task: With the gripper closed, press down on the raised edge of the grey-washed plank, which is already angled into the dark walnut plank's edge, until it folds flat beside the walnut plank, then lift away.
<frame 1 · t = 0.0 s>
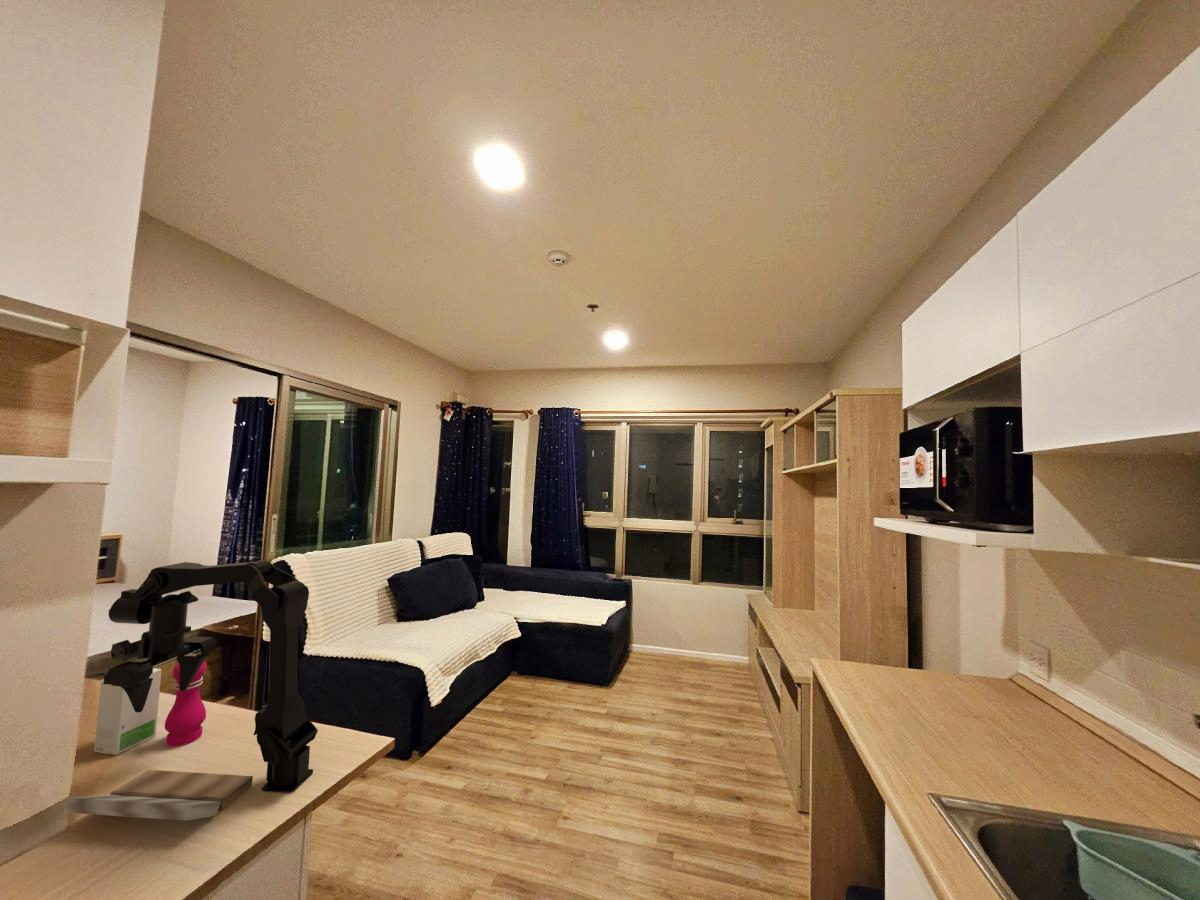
hand: (161, 700, 96), 15 cm above the counter, fingers open, 9 cm apart
pepper mill: (184, 739, 107), on the counter
grey plank: (145, 806, 82), point 3 cm above the counter, hinge at 30.0°
walnut plank: (182, 795, 89), on the counter
skincare box: (125, 744, 104), on the counter
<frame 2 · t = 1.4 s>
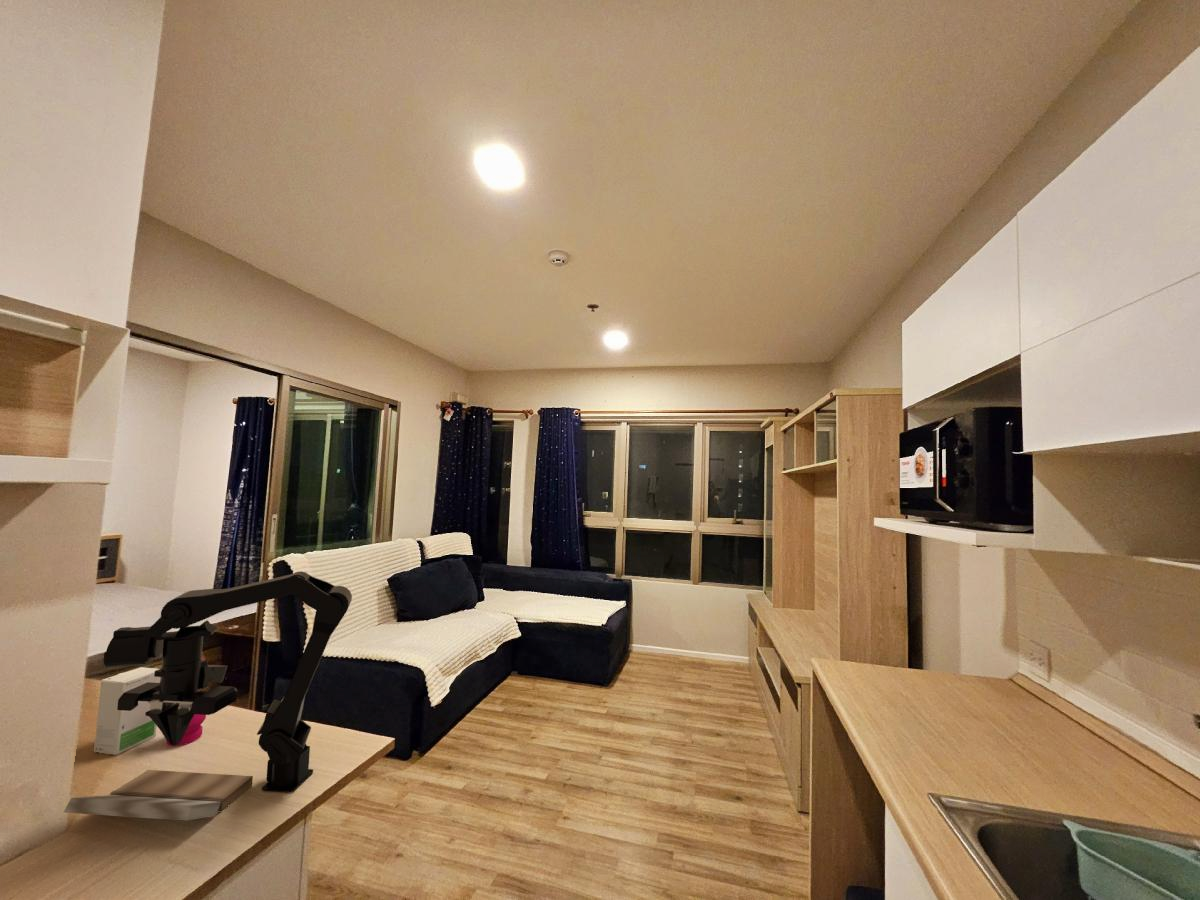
hand: (175, 744, 87), 11 cm above the counter, fingers closed
nothing on the counter moved.
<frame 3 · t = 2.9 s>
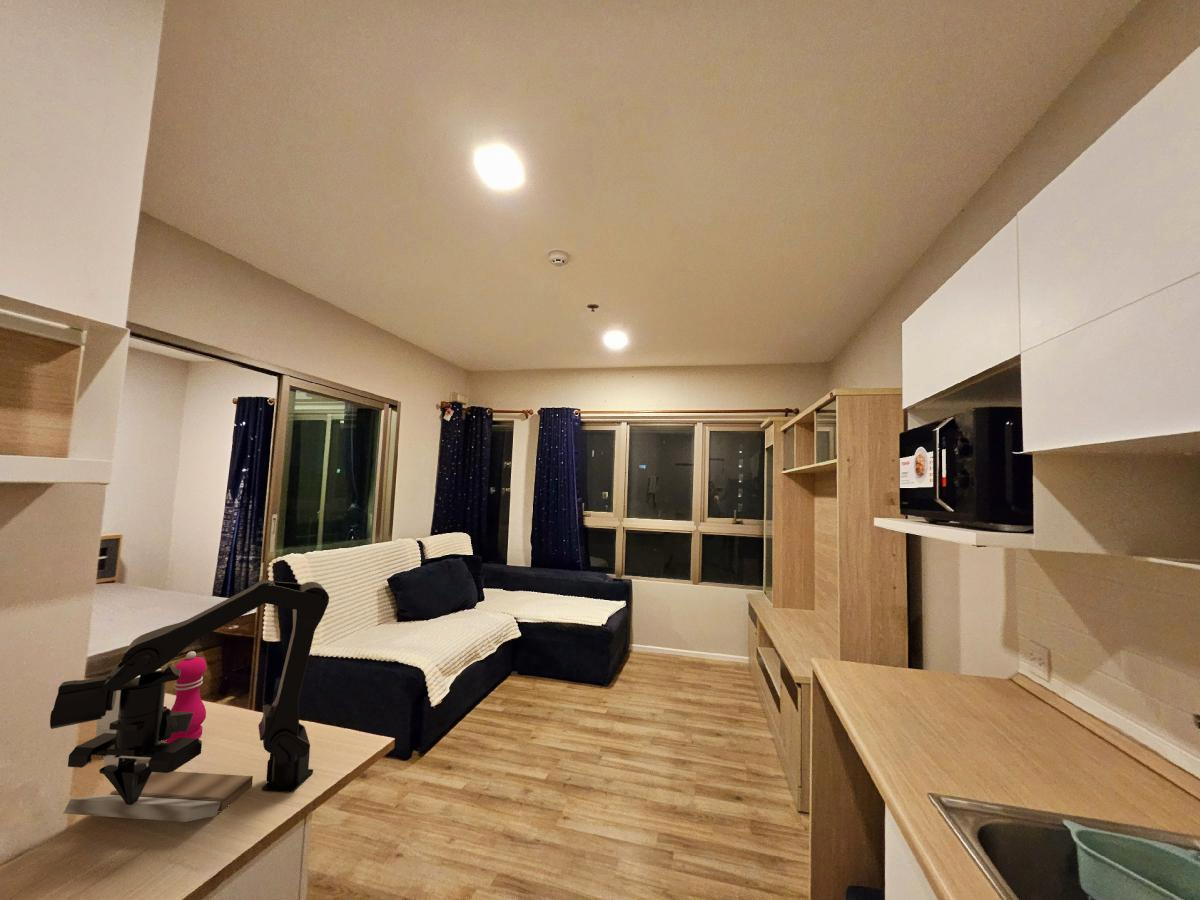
hand: (131, 803, 79), 5 cm above the counter, fingers closed, pressing on grey plank
grey plank: (145, 807, 82), point 3 cm above the counter, hinge at 28.6°, touching gripper
everything else where it was.
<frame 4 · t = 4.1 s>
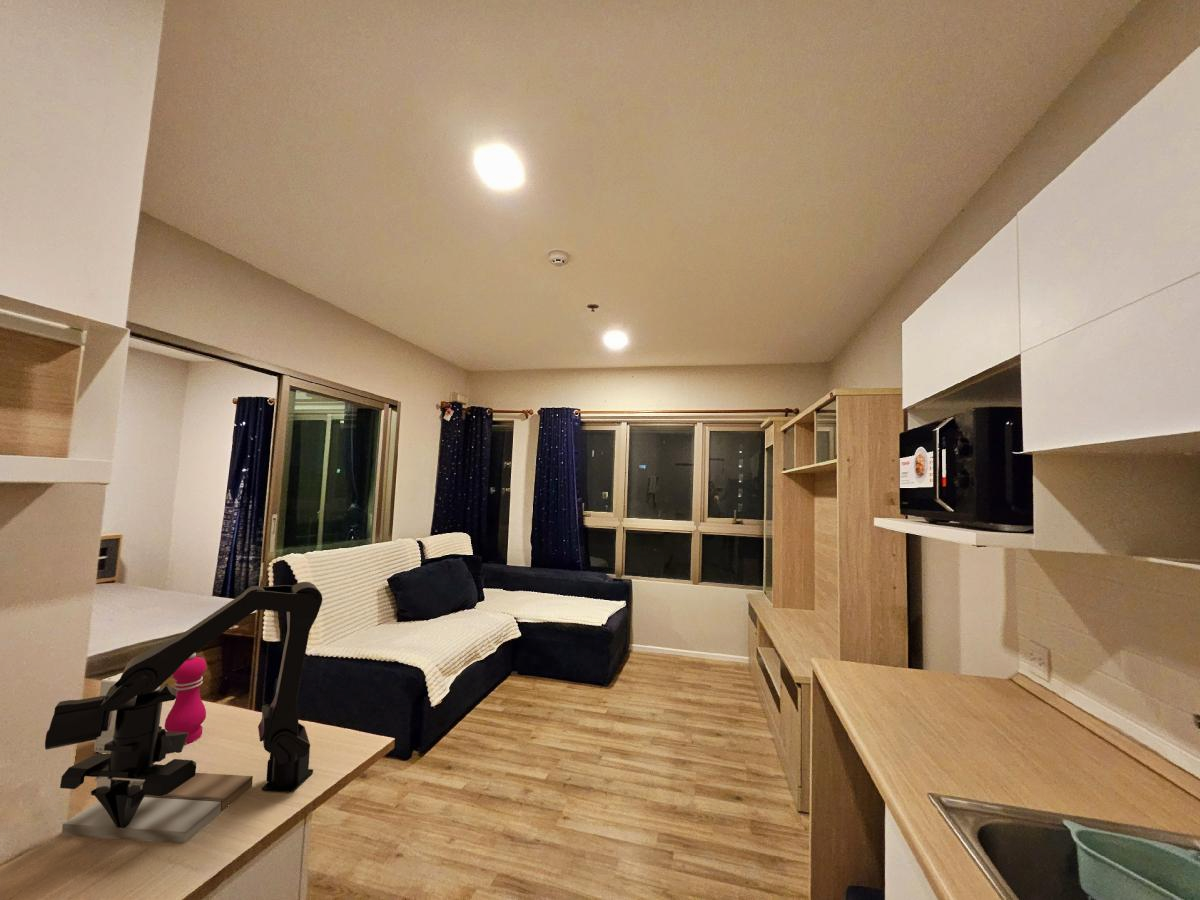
hand: (123, 826, 78), 2 cm above the counter, fingers closed, pressing on grey plank
grey plank: (144, 818, 82), point 1 cm above the counter, hinge at -1.2°, touching gripper
everything else where it was.
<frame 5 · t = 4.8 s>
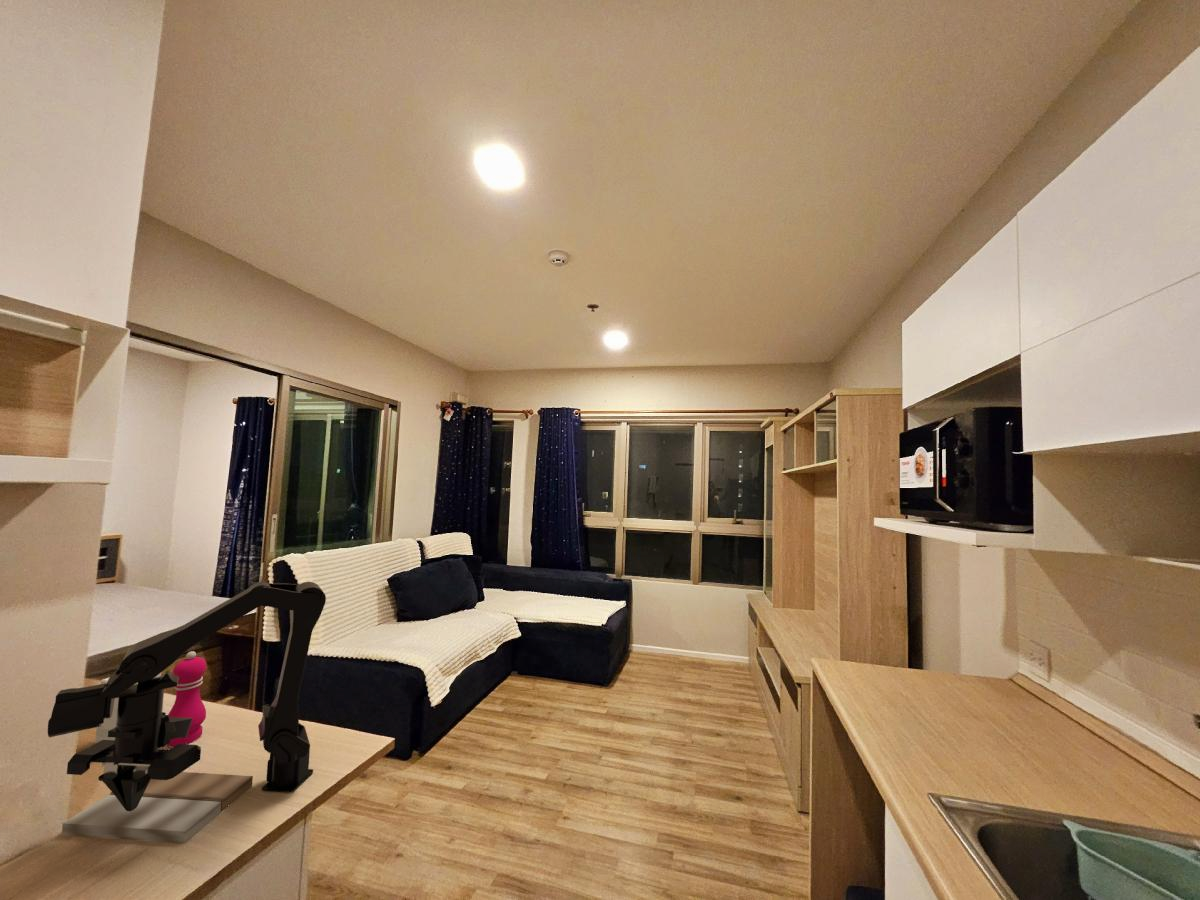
hand: (131, 809, 79), 4 cm above the counter, fingers closed
grey plank: (144, 818, 82), point 1 cm above the counter, hinge at -0.6°
everything else where it was.
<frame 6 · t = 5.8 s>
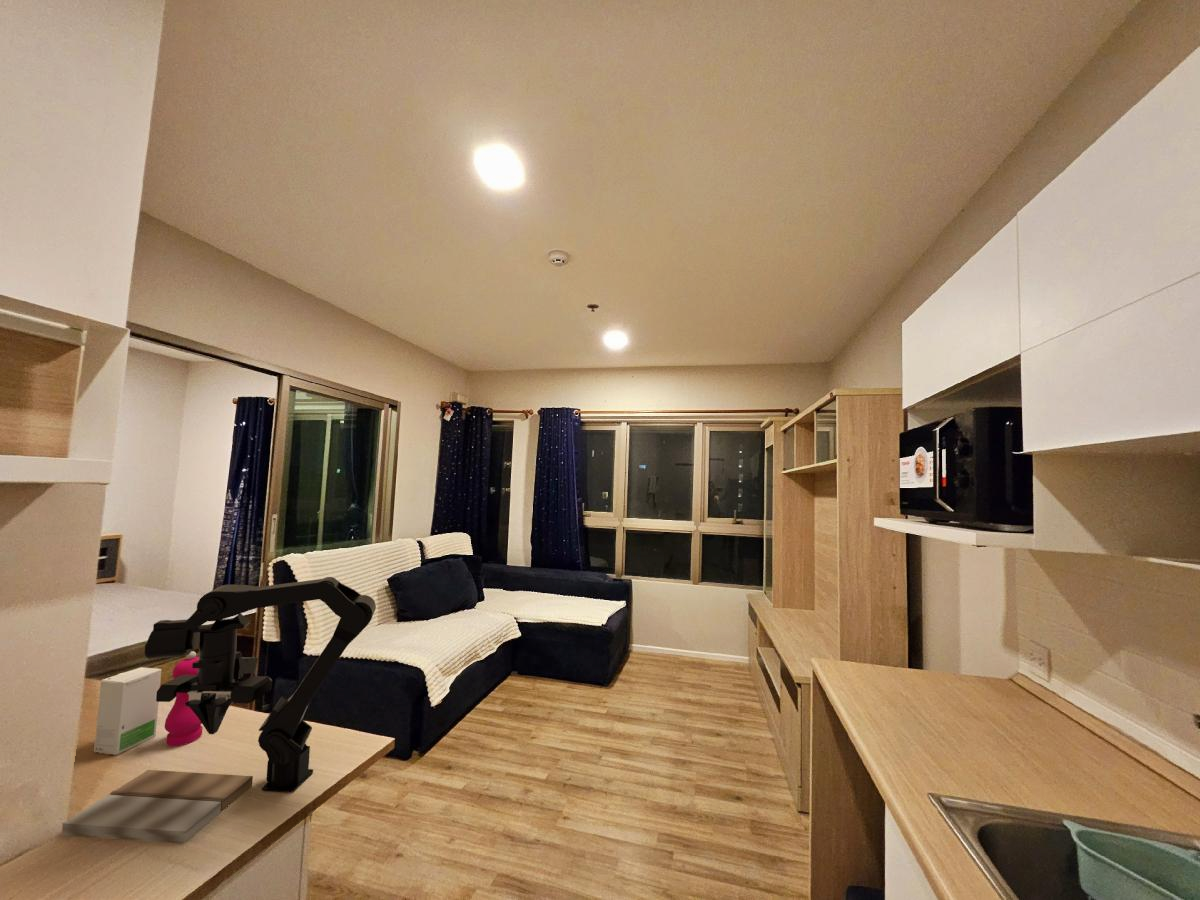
hand: (213, 733, 90), 12 cm above the counter, fingers closed
nothing on the counter moved.
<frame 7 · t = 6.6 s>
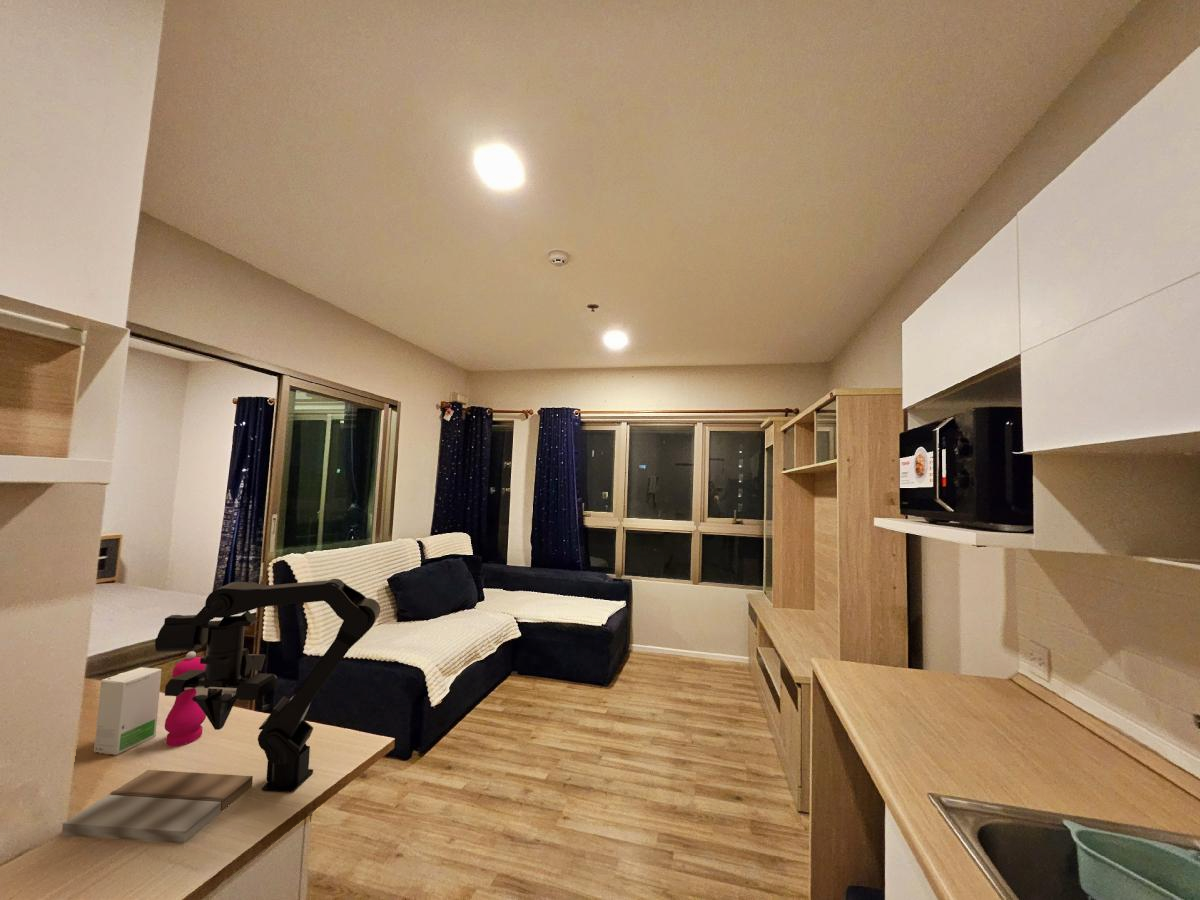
hand: (219, 728, 91), 12 cm above the counter, fingers closed
nothing on the counter moved.
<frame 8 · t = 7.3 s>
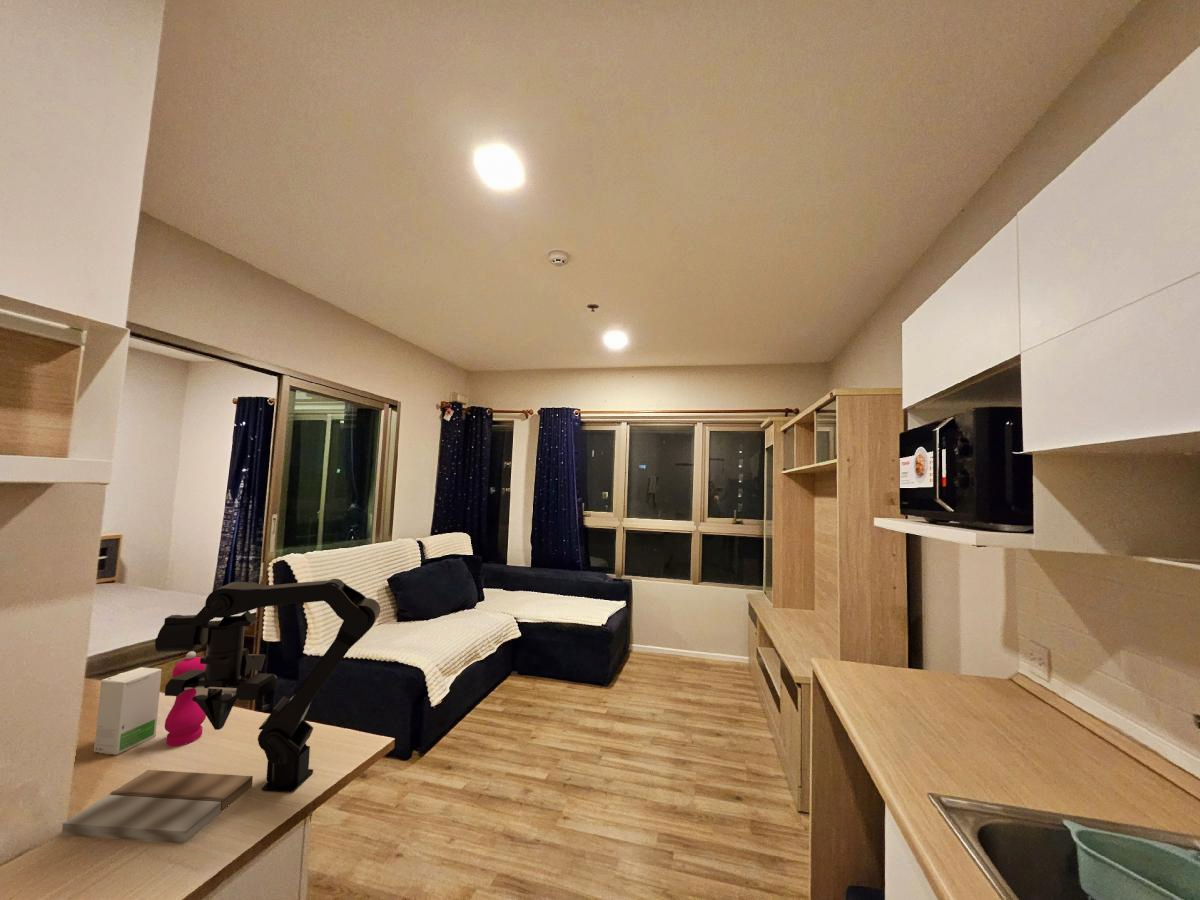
hand: (219, 728, 91), 12 cm above the counter, fingers closed
nothing on the counter moved.
at the end: grey plank at -1° (first picture: +30°); pepper mill moved 0.2 cm from its start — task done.
